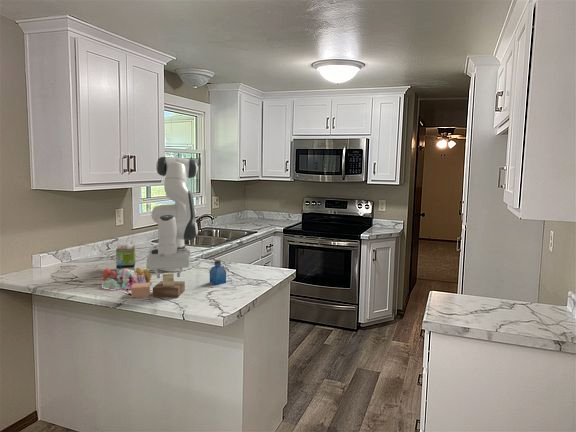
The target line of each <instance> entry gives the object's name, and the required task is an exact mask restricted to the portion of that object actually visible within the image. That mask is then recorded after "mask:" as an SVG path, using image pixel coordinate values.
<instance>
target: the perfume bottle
mask: <svg viewBox="0 0 576 432" xmlns="http://www.w3.org/2000/svg"><path fill="white" fill-rule="evenodd" d="M221 261H222V260H221V259H216V260H214V266H212V267H211V268H210V270H209V283H210V284H212V285H215V286H218V285H222V284H223V285H224V284H226V283H227V271H226V269H225V268H224V266H223V265H222V262H221ZM221 265H222V266H221Z"/></svg>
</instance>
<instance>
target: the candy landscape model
mask: <svg viewBox="0 0 576 432" xmlns="http://www.w3.org/2000/svg"><path fill="white" fill-rule="evenodd" d="M152 274H153V273H152V272H150V269H147V268H146V269H143V268H142V267H135V271H133V270H129V269H127V268H126V269H123V270H120V271H119V272H118V274H116V271H115V270H111V269H110V268H105V269H103V271H102V281H103V282H104V283H103V282H102V283H103V287H105V288H109V289H122V290H125V289H131V287H132V285H133V284H134V283H150V285H152V284H153V282H152V281H151V280H152ZM110 276H111V277H113V278H112V279H109V280H107V279H108V277H110Z"/></svg>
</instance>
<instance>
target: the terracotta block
mask: <svg viewBox="0 0 576 432" xmlns="http://www.w3.org/2000/svg"><path fill="white" fill-rule="evenodd" d="M130 291H131V293H130V294H131V298H132V297H138V298H149V297H150V296H151V284H150V283H134V284H133V285H132V287H131V290H130Z"/></svg>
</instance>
